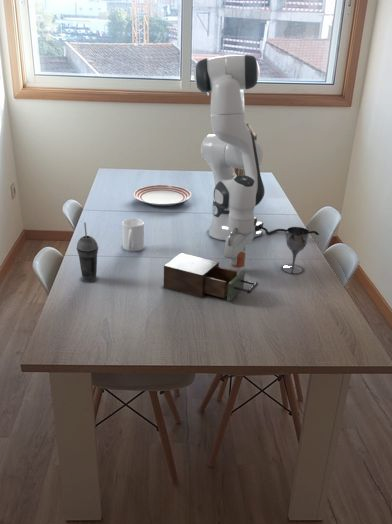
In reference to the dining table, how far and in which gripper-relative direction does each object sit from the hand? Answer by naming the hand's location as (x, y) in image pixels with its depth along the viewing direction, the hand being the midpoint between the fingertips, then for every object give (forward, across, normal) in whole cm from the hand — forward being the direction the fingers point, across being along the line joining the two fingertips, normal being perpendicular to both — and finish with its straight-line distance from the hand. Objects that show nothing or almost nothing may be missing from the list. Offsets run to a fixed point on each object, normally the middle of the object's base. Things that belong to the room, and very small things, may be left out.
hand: (237, 260), depth 210 cm
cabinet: (+4, -19, +10) cm, 22 cm away
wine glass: (+4, +12, -18) cm, 22 cm away
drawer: (+3, -19, -4) cm, 20 cm away
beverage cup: (+4, -32, +42) cm, 53 cm away
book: (+6, +91, +35) cm, 97 cm away
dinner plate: (+5, +57, +61) cm, 84 cm away
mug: (+4, -2, +43) cm, 43 cm away
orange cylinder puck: (+2, 0, 0) cm, 2 cm away
